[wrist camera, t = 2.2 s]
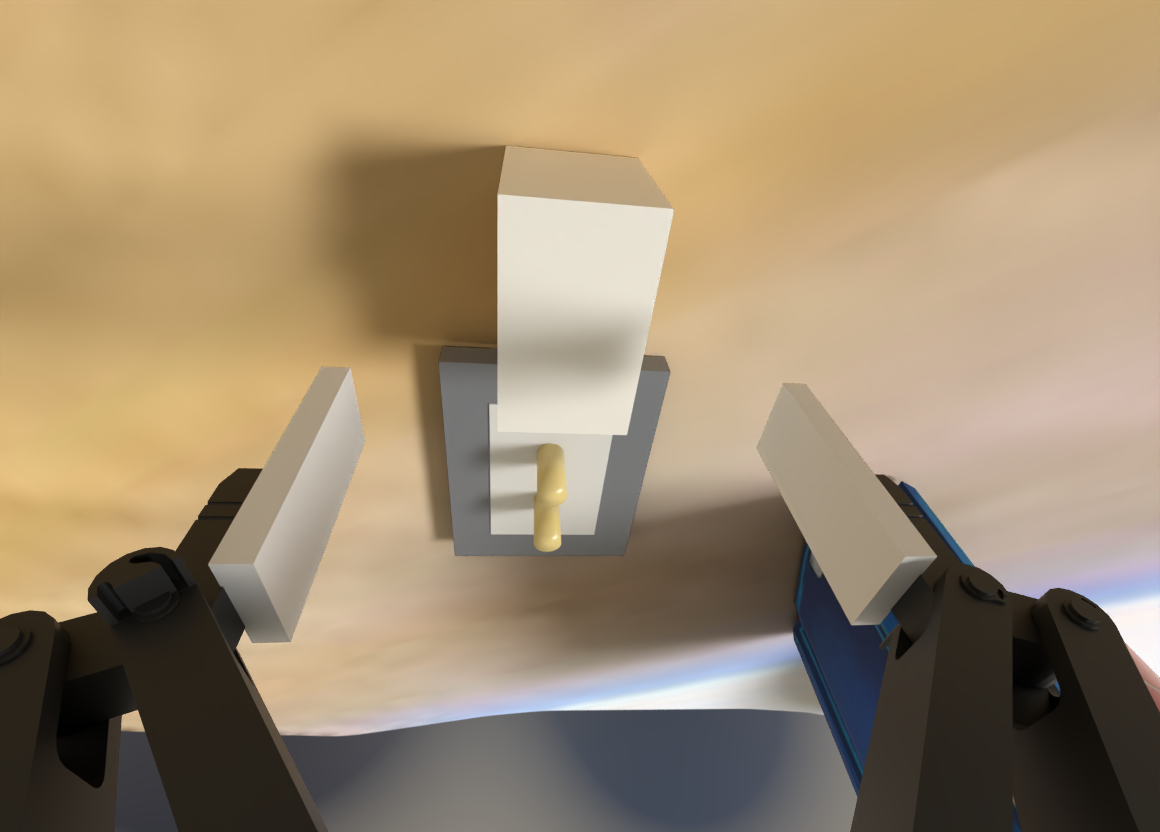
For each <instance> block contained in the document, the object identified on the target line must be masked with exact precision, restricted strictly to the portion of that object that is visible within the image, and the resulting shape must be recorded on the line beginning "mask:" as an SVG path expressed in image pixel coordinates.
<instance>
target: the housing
mask: <svg viewBox="0 0 1160 832" xmlns="http://www.w3.org/2000/svg"><path fill="white" fill-rule="evenodd" d="M673 213H674V208H673V207H672V205H671V204H670V202H669V201H668V199H667V198H666V197H665V195H664V194H663V192H662V191H661V189H660V188H659V187H658V185H657V184H656V182H655V181H654V179H653V178H652V177H651V175H650V174H649V172H648V171H647V170H646V168H645V167H644V165H643V164H642V162H641V161H640V160H639V158H632V157H622V156H611V155H601V154H590V153H580V152H569V151H559V150H548V149H538V148H527V147H517V146H506V149H505V155H504V161H503V166H502V172H501V178H500V183H499V189H498V367H497V432H528V433H565V434H601V435H627V433H628V428H629V423H630V419H631V414H632V409H633V404H634V399H635V395H636V390H637V385H638V380H639V376H640V371H641V366H642V361H643V356H644V352H645V347H646V342H647V337H648V332H649V328H650V323H651V318H652V313H653V308H654V304H655V299H656V294H657V289H658V284H659V280H660V275H661V270H662V265H663V260H664V256H665V251H666V246H667V241H668V236H669V232H670V227H671V222H672V217H673Z"/></svg>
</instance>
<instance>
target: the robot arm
mask: <svg viewBox="0 0 1160 832" xmlns="http://www.w3.org/2000/svg"><path fill="white" fill-rule="evenodd" d="M364 443H365V437H364V432H363V427H362V422H361V417H360V412H359V408H358V403H357V398H356V393H355V388H354V383H353V379H352V374H351V369H350V368H349V367H321V369H320V371H319V372H318V374H317V376H316V377H315V379H314V381H313V383H312V384H311V386H310V388H309V390H308V391H307V393H306V395H305V397H304V398H303V400H302V402H301V404H300V405H299V407H298V409H297V411H296V412H295V414H294V416H293V417H292V419H291V421H290V423H289V424H288V426H287V428H286V430H285V431H284V433H283V435H282V437H281V438H280V440H279V442H278V444H277V445H276V447H275V449H274V451H273V452H272V454H271V456H270V457H269V459H268V461H267V463H266V464H265V466H264V468H263V469H249V468H239V469H237V470H236V471H235V472H234V473H232V474H231V475H230V476H228V477H227V478H226V479H225V480H223V481H222V482H221V483H220V484H219V485H218V487H217V488H216V490H215V491H214V493H213V494H212V496H211V497H210V499H209V500H208V505H205V507H204V508H203V510H202V511H201V513H200V514H199V516H198V520H195V522H194V523H193V525H192V527H191V528H190V530H189V531H188V533H187V534H186V536H185V537H184V539H183V540H182V542H181V543H180V545H179V547H178V548H177V550H176V551H174V550H171V549H167V548H163V547H155V548H144V549H141V550H138V551H135V552H132V553H129V554H126V555H124V556H123V557H121V558H119V559H117V560H115V561H114V562H112V563H110V564H109V565H108V566H107V567H106V568H104V569H103V570H102V571H101V572H100V573H99V574H98V575H97V576H96V577H95V579H94V580H93V582H92V583H91V585H90V587H89V588H88V601H89V603H90V604H91V605H92V606H93V607H94V608H95V610H96V611H97V613H93V614H89V615H86V616H82V617H78V618H74V619H70V620H67V621H63V622H59V623H58V622H57V621H56V620H55V619H54V618H53V617H51V616H50V615H49V614H47V613H46V612H42V611H31V610H29V611H25V612H20V613H15V614H11V615H8V616H6V617H3V618H1V619H0V832H115V815H116V799H117V783H118V767H119V751H120V735H121V719H122V715H123V714H126V713H129V712H132V711H135V710H138V711H139V714H140V717H141V720H142V723H143V726H144V729H145V732H146V735H147V738H148V741H149V744H150V747H151V750H152V753H153V756H154V759H155V762H156V765H157V768H158V771H159V774H160V777H161V780H162V783H163V786H164V789H165V792H166V795H167V798H168V801H169V804H170V807H171V810H172V813H173V816H174V819H175V822H176V825H177V828H178V831H179V832H328V830H327V828H326V826H325V824H324V822H323V820H322V819H321V816H320V814H319V812H318V810H317V808H316V806H315V804H314V802H313V800H312V798H311V796H310V794H309V792H308V790H307V788H306V786H305V784H304V782H303V780H302V778H301V776H300V774H299V772H298V770H297V768H296V766H295V764H294V762H293V760H292V758H291V756H290V754H289V752H288V750H287V748H286V746H285V744H284V742H283V740H282V738H281V736H280V734H279V732H278V730H277V728H276V726H275V724H274V722H273V720H272V718H271V716H270V714H269V712H268V710H267V708H266V706H265V704H264V702H263V700H262V698H261V696H260V694H259V692H258V690H257V688H256V686H255V684H254V682H253V680H252V678H251V676H250V674H249V672H248V670H247V668H246V666H245V664H244V662H243V660H242V658H241V656H240V654H239V652H238V650H237V649H236V647H237V645H238V642H239V640H240V638H241V636H242V634H243V631H244V629H245V631H246V633H247V634H248V636H249V638H250V640H251V642H252V643H271V642H291V639H292V636H293V634H294V631H295V628H296V626H297V623H298V620H299V618H300V615H301V612H302V610H303V607H304V604H305V602H306V599H307V596H308V594H309V591H310V588H311V585H312V583H313V580H314V577H315V575H316V572H317V569H318V567H319V564H320V561H321V559H322V556H323V553H324V551H325V548H326V545H327V542H328V540H329V537H330V534H331V532H332V529H333V526H334V524H335V521H336V518H337V516H338V513H339V510H340V508H341V505H342V502H343V500H344V497H345V494H346V491H347V489H348V486H349V483H350V481H351V478H352V475H353V473H354V470H355V467H356V465H357V462H358V459H359V457H360V454H361V451H362V449H363V446H364ZM757 450H758V452H759V454H760V456H761V458H762V460H763V461H764V463H765V465H766V467H767V469H768V471H769V473H770V475H771V476H772V478H773V480H774V482H775V484H776V486H777V488H778V489H779V491H780V493H781V495H782V497H783V499H784V501H785V502H786V504H787V506H788V508H789V510H790V512H791V514H792V516H793V517H794V519H795V521H796V523H797V525H798V527H799V529H800V530H801V532H802V534H803V536H804V538H805V540H806V542H807V544H808V545H809V547H810V549H811V551H812V553H813V555H814V557H815V558H816V560H817V562H818V564H819V566H820V568H821V570H822V571H823V573H824V575H825V577H826V579H827V581H828V583H829V585H830V586H831V588H832V590H833V592H834V594H835V596H836V598H837V599H838V601H839V603H840V605H841V607H842V609H843V611H844V613H845V614H846V616H847V618H848V620H849V622H850V624H851V625H879V624H880V623H881V622H882V621H883V620H884V619H885V617H886V616H887V615H888V614H889V613H890V612H891V611H892V612H893V614H894V615H895V617H896V619H897V620H898V622H899V624H898V625H897V626H896V627H895V628H894V629H893V630H892V632H891V633H890V634H889V635H888V636H887V637H886V638H885V639H884V641H883V642H882V643H881V645H880V646H879V649H881V650H884V649H885V648H886V647H887V646H888V645H890V647H889V652H888V657H887V662H886V666H885V671H884V676H883V680H882V685H881V690H880V695H879V699H878V704H877V709H876V713H875V718H874V723H873V727H872V732H871V737H870V742H869V746H868V751H867V756H866V760H865V765H864V770H863V775H862V779H861V784H860V789H859V793H858V798H857V803H856V808H855V812H854V817H853V822H852V827H851V831H850V832H1013V798H1014V802H1015V805H1016V809H1017V813H1018V817H1019V821H1020V825H1021V829H1022V832H1160V712H1159V710H1158V708H1157V706H1156V704H1155V702H1154V700H1153V698H1152V696H1151V694H1150V692H1149V690H1148V688H1147V686H1146V684H1145V682H1144V680H1143V678H1142V676H1141V674H1140V672H1139V670H1138V668H1137V666H1136V664H1135V662H1134V660H1133V658H1132V656H1131V654H1130V652H1129V650H1128V648H1127V646H1126V645H1125V643H1124V641H1123V639H1122V637H1121V635H1120V633H1119V631H1118V629H1117V627H1116V625H1115V624H1114V622H1113V621H1112V620H1111V618H1110V617H1109V615H1108V614H1106V613H1105V612H1104V611H1103V610H1102V609H1101V608H1100V607H1099V606H1098V605H1096V604H1095V603H1094V602H1092V601H1090V600H1089V599H1087V598H1086V597H1084V596H1082V595H1080V594H1078V593H1075V592H1073V591H1071V590H1066V589H1061V588H1055V589H1050V590H1049V591H1047V592H1046V593H1045V594H1044V595H1043V596H1042V597H1041V598H1040V599H1035V598H1031V597H1027V596H1024V595H1020V594H1016V593H1012V592H1008V591H1006V589H1005V588H1004V587H1003V585H1002V584H1001V583H1000V582H998V581H997V580H996V579H995V578H994V577H993V576H991V575H990V574H988V573H986V572H985V571H983V570H981V569H980V568H977V567H974V566H971V565H968V564H961V563H960V561H959V560H958V559H957V558H956V556H955V555H954V554H953V553H952V551H951V550H950V549H949V548H948V546H947V545H946V544H945V543H944V541H943V540H942V539H941V538H940V536H939V535H938V534H937V533H936V531H935V530H934V529H933V528H932V526H931V525H930V524H929V523H928V521H927V520H926V519H923V515H922V514H921V512H920V511H919V510H918V509H917V507H916V506H913V502H912V501H911V500H910V499H909V497H908V496H907V495H906V494H905V492H904V491H903V490H902V489H901V488H900V487H899V486H898V485H896V484H895V483H894V482H893V481H891V480H890V479H889V478H887V477H886V476H885V475H875V474H874V473H873V472H872V470H871V469H870V468H869V466H868V465H867V464H866V462H865V461H864V460H863V458H862V457H861V456H860V455H859V453H858V452H857V451H856V449H855V448H854V447H853V445H852V444H851V443H850V441H849V440H848V439H847V437H846V436H845V435H844V434H843V432H842V431H841V430H840V428H839V427H838V426H837V424H836V423H835V422H834V420H833V419H832V418H831V417H830V415H829V414H828V413H827V411H826V410H825V409H824V407H823V406H822V405H821V403H820V402H819V401H818V399H817V398H816V397H815V396H814V394H813V393H812V392H811V390H810V389H809V388H808V386H807V385H806V384H793V383H783V385H782V387H781V390H780V392H779V394H778V397H777V399H776V402H775V404H774V407H773V409H772V411H771V414H770V416H769V419H768V421H767V423H766V426H765V428H764V431H763V433H762V436H761V438H760V440H759V443H758V445H757ZM1056 682H1058V684H1059V688H1060V695H1059V693H1058V691H1057V689H1056V686H1055V683H1056Z"/></svg>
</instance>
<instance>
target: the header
mask: <svg viewBox="0 0 1160 832" xmlns="http://www.w3.org/2000/svg"><path fill="white" fill-rule="evenodd" d="M497 367H498V349H489V348H468V347H447V346H443V347H442V351H441V354H440V358H439V373H440V385H441V397H442V408H443V420H444V432H445V444H446V456H447V468H448V480H449V492H450V504H451V516H452V527H453V539H454V551H455V556H624V554H625V550H626V546H627V542H628V538H629V534H630V530H631V526H632V522H633V518H634V514H635V510H636V506H637V502H638V498H639V494H640V490H641V486H642V482H643V478H644V475H645V471H646V467H647V463H648V459H649V455H650V451H651V447H652V443H653V439H654V435H655V431H656V427H657V423H658V419H659V415H660V411H661V407H662V403H663V399H664V395H665V391H666V387H667V383H668V380H669V376H670V369H669V367H668V364H667V362H666V359H665V357H659V356H643V361H642V366H641V371H640V376H639V380H638V385H637V390H636V395H635V399H634V404H633V409H632V414H631V419H630V423H629V428H628V433H627V435H601V434H565V433H528V432H497Z"/></svg>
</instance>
